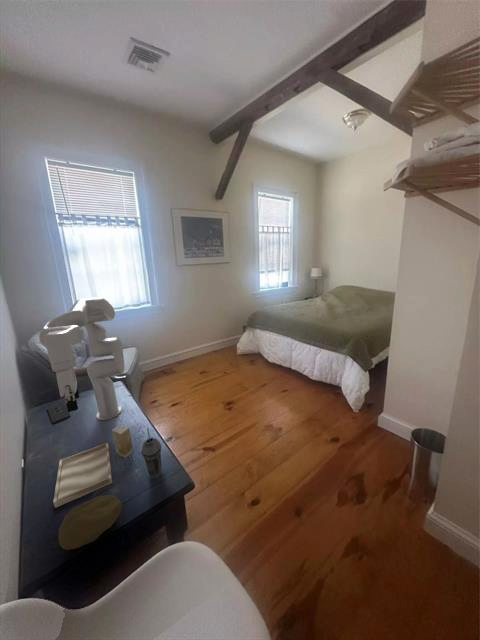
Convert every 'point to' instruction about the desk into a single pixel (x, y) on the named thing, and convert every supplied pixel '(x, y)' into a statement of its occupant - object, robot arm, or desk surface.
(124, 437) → the skincare box
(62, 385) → the robot arm
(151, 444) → the beverage cup
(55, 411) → the smart home device
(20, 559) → the desk surface
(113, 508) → the decorative stone
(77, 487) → the birch tray
